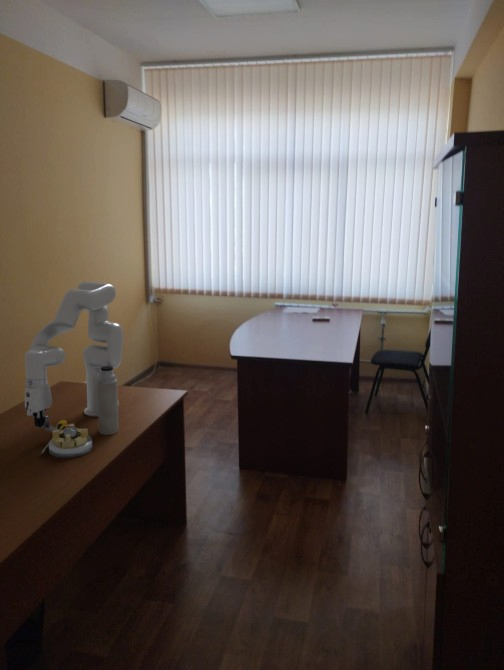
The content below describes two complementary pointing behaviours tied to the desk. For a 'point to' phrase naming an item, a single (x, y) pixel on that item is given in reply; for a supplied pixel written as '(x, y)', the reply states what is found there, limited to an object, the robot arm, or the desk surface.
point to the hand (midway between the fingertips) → (39, 425)
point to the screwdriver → (60, 426)
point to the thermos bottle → (107, 401)
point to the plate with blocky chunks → (70, 451)
